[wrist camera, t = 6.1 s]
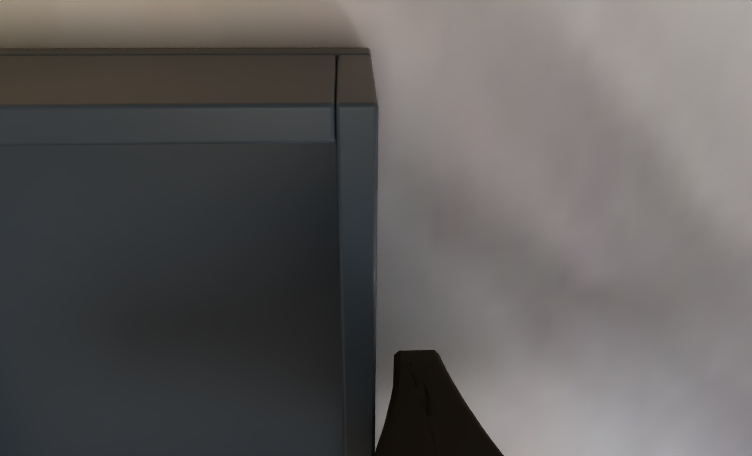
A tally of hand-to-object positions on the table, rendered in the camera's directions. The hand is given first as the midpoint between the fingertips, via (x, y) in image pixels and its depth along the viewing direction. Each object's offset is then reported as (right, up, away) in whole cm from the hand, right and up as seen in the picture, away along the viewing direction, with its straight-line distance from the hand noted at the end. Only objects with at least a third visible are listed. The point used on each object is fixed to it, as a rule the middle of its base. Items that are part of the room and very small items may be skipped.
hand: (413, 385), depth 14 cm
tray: (-7, +1, +1) cm, 7 cm away
